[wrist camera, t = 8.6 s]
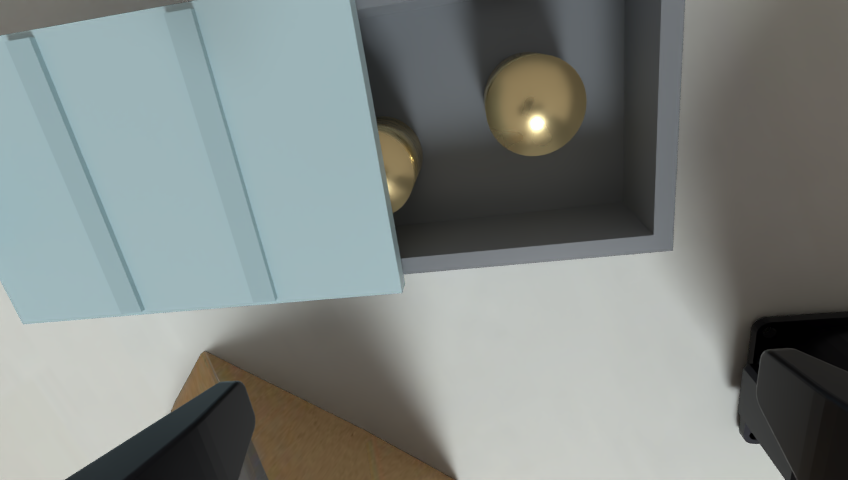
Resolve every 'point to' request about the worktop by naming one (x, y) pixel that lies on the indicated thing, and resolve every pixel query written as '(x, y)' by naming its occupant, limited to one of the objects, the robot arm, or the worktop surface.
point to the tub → (518, 174)
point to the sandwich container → (304, 435)
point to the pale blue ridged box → (192, 162)
